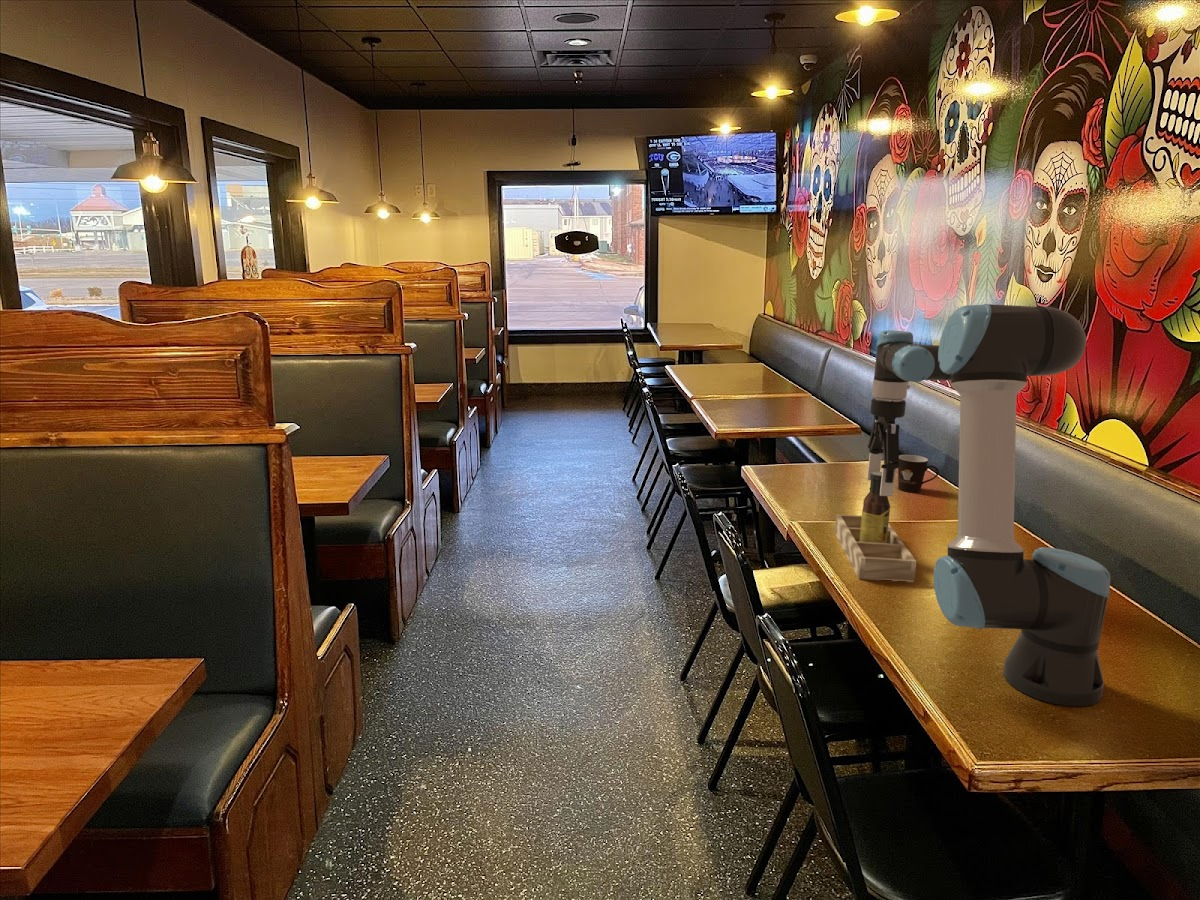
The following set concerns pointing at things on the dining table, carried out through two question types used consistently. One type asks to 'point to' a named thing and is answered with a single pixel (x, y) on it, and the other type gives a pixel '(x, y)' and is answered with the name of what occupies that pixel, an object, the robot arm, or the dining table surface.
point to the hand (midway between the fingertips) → (879, 487)
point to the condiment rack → (874, 552)
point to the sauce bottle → (875, 513)
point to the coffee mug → (912, 473)
